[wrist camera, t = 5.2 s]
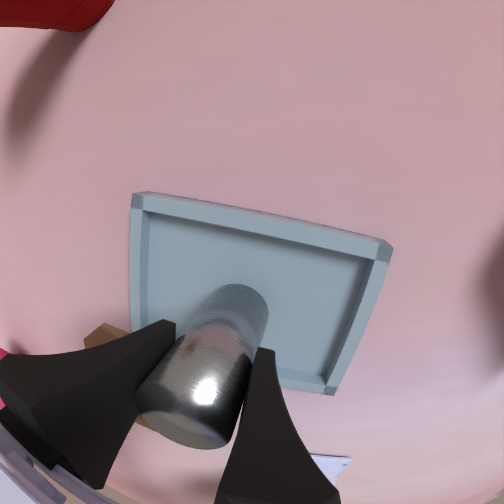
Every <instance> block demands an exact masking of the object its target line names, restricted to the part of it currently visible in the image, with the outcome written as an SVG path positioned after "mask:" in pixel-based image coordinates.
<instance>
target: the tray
mask: <svg viewBox="0 0 504 504" xmlns="http://www.w3.org/2000/svg"><path fill="white" fill-rule="evenodd" d="M392 252H393V247H392V246H391V245H390V244H389V243H387V242H386V241H385V240H382V239H378V238H374V237H370V236H366V235H362V234H358V233H354V232H350V231H346V230H342V229H338V228H333V227H329V226H325V225H320V224H316V223H312V222H307V221H303V220H298V219H294V218H289V217H284V216H280V215H275V214H270V213H265V212H260V211H255V210H250V209H245V208H240V207H235V206H230V205H224V204H219V203H214V202H208V201H203V200H197V199H191V198H185V197H179V196H173V195H167V194H161V193H155V192H148V191H146V192H140V193H134V194H132V202H131V217H130V238H129V297H130V317H131V332H135V331H137V330H139V329H141V328H144V327H146V326H148V325H150V324H152V323H155V322H157V321H159V320H162V319H165V320H168V321H171V322H174V323H176V340H177V339H178V338H179V336H180V335H181V334H182V333H183V331H184V330H185V329H186V328H187V326H188V325H189V324H190V323H191V321H192V320H193V319H194V317H195V316H196V315H197V314H198V312H199V311H200V310H201V309H202V307H203V306H204V305H205V304H206V302H207V301H208V300H209V299H210V297H211V296H212V295H213V294H214V292H215V291H216V290H218V289H219V288H220V287H222V286H225V285H228V284H242V285H246V286H248V287H251V288H252V289H254V290H256V291H257V292H258V293H259V294H260V295H261V296H262V297H263V299H264V300H265V302H266V304H267V307H268V311H269V317H268V322H267V325H266V329H265V332H264V335H263V339H262V342H261V346H260V347H262V348H267V349H271V350H274V351H275V353H276V355H275V358H276V369H277V375H278V380H279V384H280V386H281V387H286V388H291V389H296V390H301V391H307V392H312V393H318V394H325V395H332V396H334V394H335V392H336V390H337V388H338V386H339V384H340V382H341V380H342V378H343V376H344V374H345V372H346V370H347V368H348V366H349V364H350V362H351V360H352V358H353V356H354V353H355V351H356V349H357V347H358V344H359V342H360V340H361V338H362V335H363V333H364V330H365V328H366V326H367V323H368V321H369V318H370V316H371V313H372V311H373V308H374V305H375V303H376V300H377V297H378V294H379V292H380V289H381V286H382V283H383V280H384V277H385V274H386V271H387V268H388V265H389V262H390V258H391V255H392Z"/></svg>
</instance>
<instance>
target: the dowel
mask: <svg viewBox="0 0 504 504" xmlns="http://www.w3.org/2000/svg"><path fill="white" fill-rule="evenodd" d="M268 317H269V311H268V307H267V304H266V302H265V300H264V299H263V297H262V296H261V295H260V294H259V293H258V292H257V291H256V290H254V289H252V288H251V287H248V286H246V285H242V284H228V285H225V286H222V287H220V288H219V289H218V290H216V291H215V292H214V294H213V295H212V296H211V297H210V299H209V300H208V301H207V302H206V304H205V305H204V306H203V307H202V309H201V310H200V311H199V312H198V314H197V315H196V316H195V317H194V319H193V320H192V321H191V323H190V324H189V325H188V326H187V328H186V329H185V330H184V331H183V333H182V334H181V335H180V336H179V338H178V339H177V340H176V341H175V343H174V344H173V345H172V347H171V348H170V349H169V350H168V352H167V353H166V354H165V355H164V357H163V358H162V359H161V360H160V362H159V363H158V364H157V366H156V367H155V368H154V369H153V371H152V372H151V373H150V374H149V376H148V377H147V378H146V380H145V381H144V382H143V383H142V385H141V386H140V387H139V388H138V390H137V391H136V394H135V403H136V406H137V409H138V411H139V413H140V414H141V416H142V417H143V418H144V420H145V421H146V422H147V423H148V424H149V425H150V426H151V427H152V428H153V429H155V430H156V431H157V432H159V433H160V434H161V435H163V436H165V437H166V438H168V439H170V440H172V441H174V442H176V443H178V444H181V445H184V446H187V447H191V448H195V449H204V450H210V449H217V448H221V447H223V446H225V445H226V444H228V443H229V441H230V440H231V437H232V435H233V432H234V429H235V426H236V423H237V419H238V416H239V413H240V410H241V407H242V404H243V401H244V398H245V395H246V391H247V387H248V382H249V378H250V374H251V370H252V366H253V362H254V357H255V354H256V351H257V349H258V347H260V346H261V342H262V339H263V335H264V332H265V329H266V325H267V322H268Z"/></svg>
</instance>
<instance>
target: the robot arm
mask: <svg viewBox="0 0 504 504" xmlns="http://www.w3.org/2000/svg"><path fill="white" fill-rule="evenodd" d="M175 341H176V323H174V322H171V321H168V320H165V319H162V320H159V321H157V322H155V323H152V324H150V325H148V326H146V327H144V328H141V329H139V330H137V331H135V332H132V333H130V334H128V335H126V336H123V337H121V338H118V339H115V340H113V341H110V342H107V343H104V344H101V345H98V346H95V347H91V348H87V349H83V350H79V351H74V352H67V353H61V354H52V355H18V354H7V355H5V356H4V357H3V358H2V359H0V397H1V399H2V401H3V402H4V404H5V406H4V407H3V408H2V409H1V410H0V504H64V502H65V501H66V499H67V498H66V496H65V495H63V494H62V493H61V492H59V491H58V490H57V489H56V488H55V487H54V486H53V485H51V484H50V483H49V482H48V481H47V480H46V479H45V478H44V477H43V476H42V475H41V474H40V473H39V472H38V471H37V470H36V469H34V465H33V463H34V464H35V465H36V466H37V467H39V468H40V469H41V470H42V471H43V472H44V473H46V474H47V475H48V476H49V477H50V478H52V479H53V480H54V481H56V482H57V483H58V484H59V485H61V486H62V487H64V488H65V489H66V490H68V491H69V492H70V493H72V494H74V495H75V496H76V497H78V498H79V499H81V500H82V501H84V502H85V503H87V504H119V503H117V502H115V501H113V500H112V499H110V498H108V497H106V496H104V495H103V494H101V493H99V492H98V491H96V490H99V489H103V487H104V485H105V482H106V479H107V477H108V474H109V472H110V469H111V467H112V465H113V463H114V460H115V458H116V456H117V454H118V452H119V450H120V448H121V446H122V444H123V442H124V440H125V438H126V436H127V434H128V432H129V431H130V429H131V427H132V425H133V423H134V422H135V420H136V418H137V417H138V415H139V414H140V413H139V411H138V409H137V406H136V403H135V394H136V391H137V390H138V388H139V387H140V386H141V385H142V383H143V382H144V381H145V380H146V378H147V377H148V376H149V374H150V373H151V372H152V371H153V369H154V368H155V367H156V366H157V364H158V363H159V362H160V360H161V359H162V358H163V357H164V355H165V354H166V353H167V352H168V350H169V349H170V348H171V347H172V345H173V344H174V343H175ZM275 355H276V353H275V351H274V350H271V349H267V348H262V347H258V349H257V351H256V354H255V357H254V362H253V366H252V370H251V374H250V378H249V382H248V387H247V391H246V395H245V398H244V402H243V407H242V412H241V417H240V423H239V428H238V433H237V436H236V439H235V442H234V445H233V448H232V450H231V453H230V456H229V459H228V462H227V465H226V467H225V470H224V473H223V476H222V478H221V481H220V484H219V486H218V490H217V494H216V497H215V501H214V504H341V500H340V495H339V491H338V490H337V489H336V477H337V476H338V475H339V474H340V473H341V472H342V471H343V470H344V469H345V468H346V467H347V466H348V465H349V464H350V463H351V462H352V459H351V458H348V457H332V456H321V455H312V454H309V452H308V450H307V449H306V447H305V446H304V444H303V442H302V441H301V439H300V437H299V435H298V433H297V431H296V429H295V427H294V425H293V422H292V420H291V418H290V415H289V413H288V410H287V407H286V404H285V401H284V398H283V395H282V392H281V388H280V384H279V380H278V375H277V369H276V358H275Z"/></svg>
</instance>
